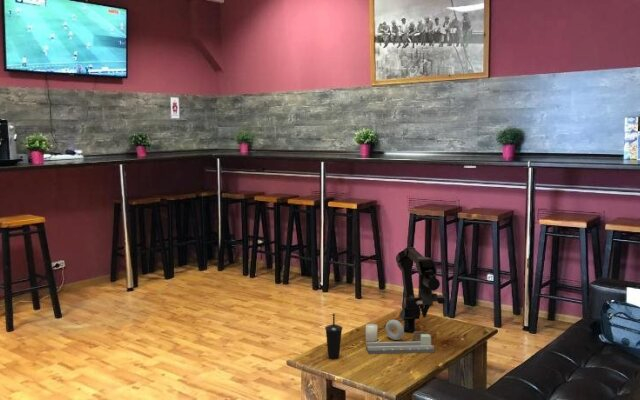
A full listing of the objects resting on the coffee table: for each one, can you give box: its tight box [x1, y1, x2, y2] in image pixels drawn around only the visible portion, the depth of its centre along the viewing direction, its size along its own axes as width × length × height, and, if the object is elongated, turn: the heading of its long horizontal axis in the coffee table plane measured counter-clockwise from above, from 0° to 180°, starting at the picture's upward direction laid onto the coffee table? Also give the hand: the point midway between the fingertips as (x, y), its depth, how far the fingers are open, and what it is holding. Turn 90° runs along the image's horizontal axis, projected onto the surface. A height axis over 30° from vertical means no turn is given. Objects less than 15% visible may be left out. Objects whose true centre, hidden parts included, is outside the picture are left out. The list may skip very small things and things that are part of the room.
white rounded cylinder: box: [365, 323, 378, 343], centre depth 286 cm, size 6×6×7 cm
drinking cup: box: [324, 313, 343, 360], centre depth 264 cm, size 8×8×20 cm
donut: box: [384, 319, 405, 341], centre depth 286 cm, size 10×4×10 cm, turn 50°
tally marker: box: [420, 333, 432, 346], centre depth 274 cm, size 4×4×5 cm
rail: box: [365, 341, 435, 355], centre depth 273 cm, size 8×30×3 cm, turn 93°
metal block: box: [413, 330, 427, 342], centre depth 285 cm, size 5×5×4 cm
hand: (424, 317), depth 282 cm, fingers closed
